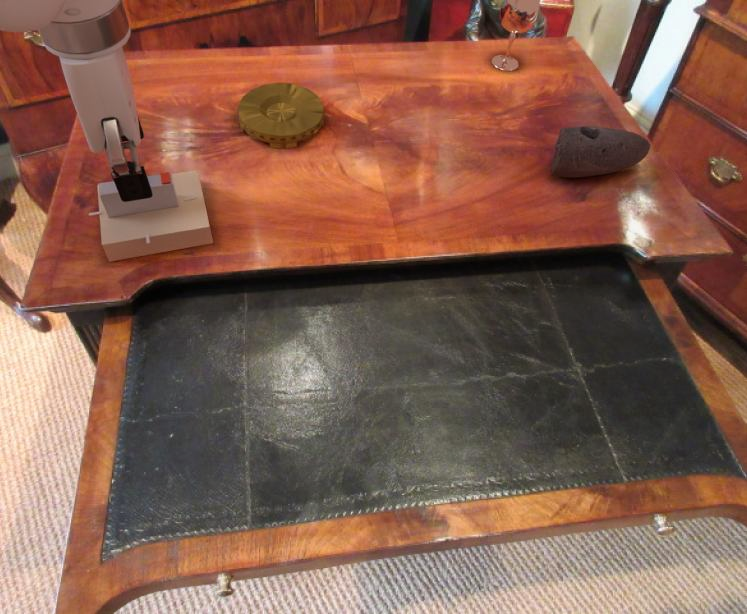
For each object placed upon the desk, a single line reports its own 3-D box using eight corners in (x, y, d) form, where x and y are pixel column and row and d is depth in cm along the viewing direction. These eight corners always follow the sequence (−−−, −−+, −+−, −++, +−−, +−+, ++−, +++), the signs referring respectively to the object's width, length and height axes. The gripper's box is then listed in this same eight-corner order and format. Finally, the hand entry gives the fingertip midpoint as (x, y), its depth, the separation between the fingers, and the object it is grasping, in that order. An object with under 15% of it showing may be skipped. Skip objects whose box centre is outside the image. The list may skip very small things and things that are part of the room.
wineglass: (513, 51, 102) (533, -22, 92) (528, 70, 99) (551, -2, 89) (482, 55, 101) (499, -18, 91) (496, 75, 97) (516, 1, 88)
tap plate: (99, 270, 69) (91, 253, 67) (94, 197, 76) (86, 178, 73) (214, 250, 72) (210, 232, 70) (200, 181, 79) (196, 162, 76)
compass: (340, 118, 88) (340, 106, 87) (286, 160, 82) (285, 147, 81) (278, 85, 92) (277, 72, 90) (222, 123, 86) (220, 110, 84)
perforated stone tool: (632, 156, 88) (653, 116, 82) (646, 181, 85) (669, 141, 79) (534, 160, 86) (549, 119, 80) (545, 186, 83) (562, 146, 77)
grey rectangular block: (108, 217, 70) (98, 193, 67) (107, 205, 71) (97, 181, 68) (179, 206, 72) (172, 182, 69) (177, 194, 73) (170, 170, 70)
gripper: (36, -26, 57) (94, 123, 71) (36, 84, 48) (103, 230, 62) (119, -33, 58) (160, 114, 72) (134, 72, 49) (178, 217, 63)
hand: (133, 167), depth 67 cm, fingers open, 9 cm apart
